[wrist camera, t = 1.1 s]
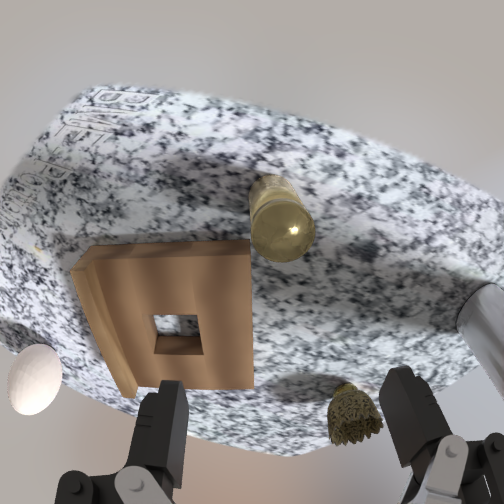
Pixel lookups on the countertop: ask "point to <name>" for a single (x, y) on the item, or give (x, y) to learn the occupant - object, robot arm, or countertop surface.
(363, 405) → the cup
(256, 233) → the brass cylinder peg
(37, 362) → the egg
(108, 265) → the jig
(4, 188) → the countertop surface
